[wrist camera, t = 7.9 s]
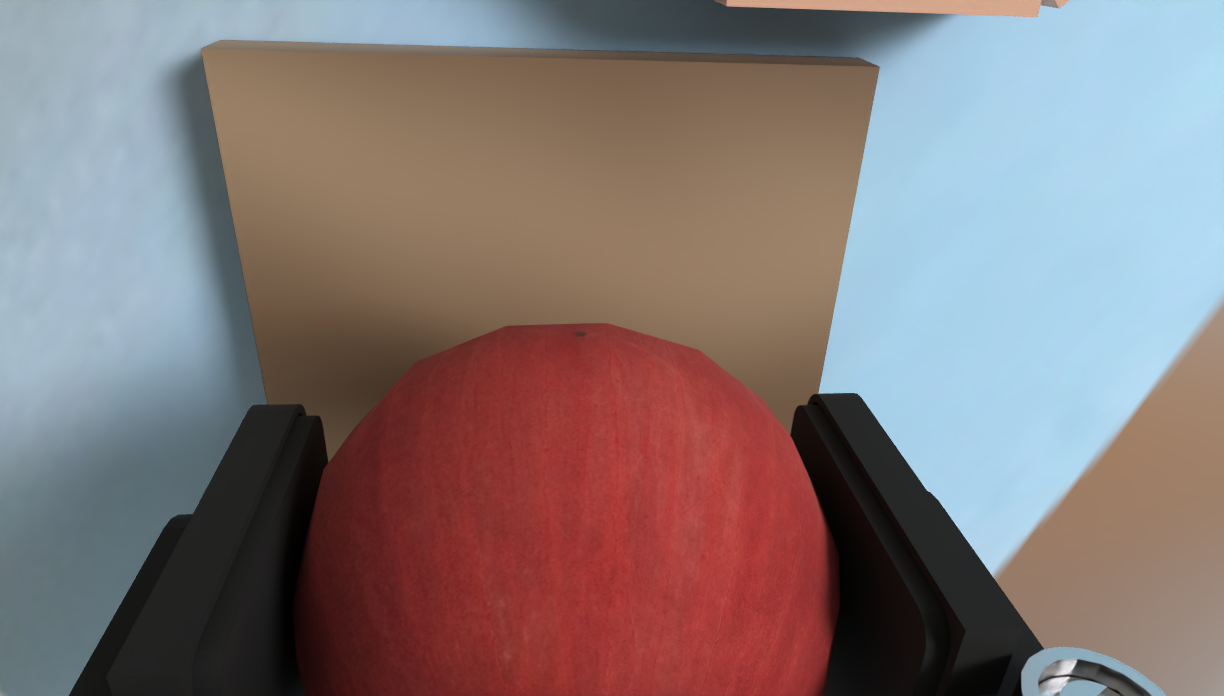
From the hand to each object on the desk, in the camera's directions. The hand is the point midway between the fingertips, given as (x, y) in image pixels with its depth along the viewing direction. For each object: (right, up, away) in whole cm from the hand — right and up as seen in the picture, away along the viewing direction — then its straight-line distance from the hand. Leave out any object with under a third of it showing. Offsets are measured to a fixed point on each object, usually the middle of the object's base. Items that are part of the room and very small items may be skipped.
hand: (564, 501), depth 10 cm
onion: (0, +1, +2) cm, 3 cm away
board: (0, +2, +3) cm, 4 cm away
